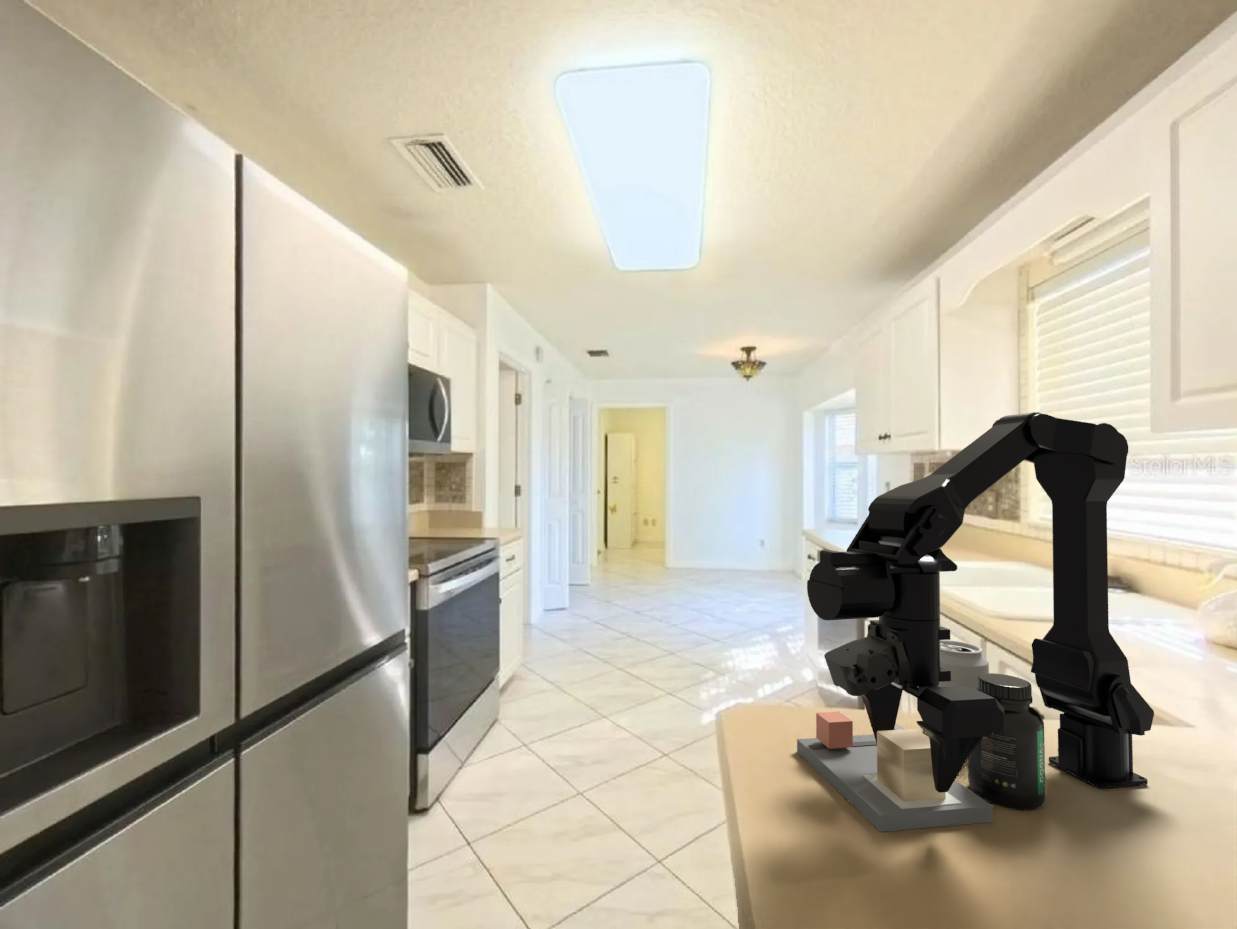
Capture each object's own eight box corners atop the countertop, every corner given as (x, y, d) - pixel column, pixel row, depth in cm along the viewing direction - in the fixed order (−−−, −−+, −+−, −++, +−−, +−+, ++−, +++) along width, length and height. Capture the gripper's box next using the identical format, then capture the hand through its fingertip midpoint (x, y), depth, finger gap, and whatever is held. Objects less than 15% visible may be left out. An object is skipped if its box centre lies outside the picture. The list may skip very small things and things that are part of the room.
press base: (886, 745, 74) (886, 717, 74) (993, 821, 57) (992, 784, 57) (797, 751, 72) (797, 722, 72) (880, 831, 55) (879, 793, 55)
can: (1000, 753, 72) (998, 654, 73) (933, 747, 74) (932, 650, 74) (976, 728, 80) (975, 639, 80) (916, 723, 81) (915, 635, 82)
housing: (877, 779, 62) (876, 730, 62) (916, 776, 63) (915, 728, 63) (904, 801, 58) (903, 749, 58) (945, 798, 58) (945, 747, 59)
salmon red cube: (839, 736, 72) (839, 711, 72) (852, 747, 69) (852, 721, 69) (816, 737, 72) (816, 712, 72) (828, 748, 69) (828, 722, 69)
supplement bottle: (1062, 810, 59) (1060, 689, 60) (1000, 814, 59) (999, 691, 59) (1009, 777, 66) (1008, 669, 67) (953, 780, 65) (952, 670, 66)
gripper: (794, 599, 69) (795, 735, 68) (893, 640, 51) (895, 827, 50) (882, 597, 71) (883, 729, 70) (1008, 636, 52) (1011, 816, 52)
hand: (910, 768), depth 60 cm, fingers open, 9 cm apart
